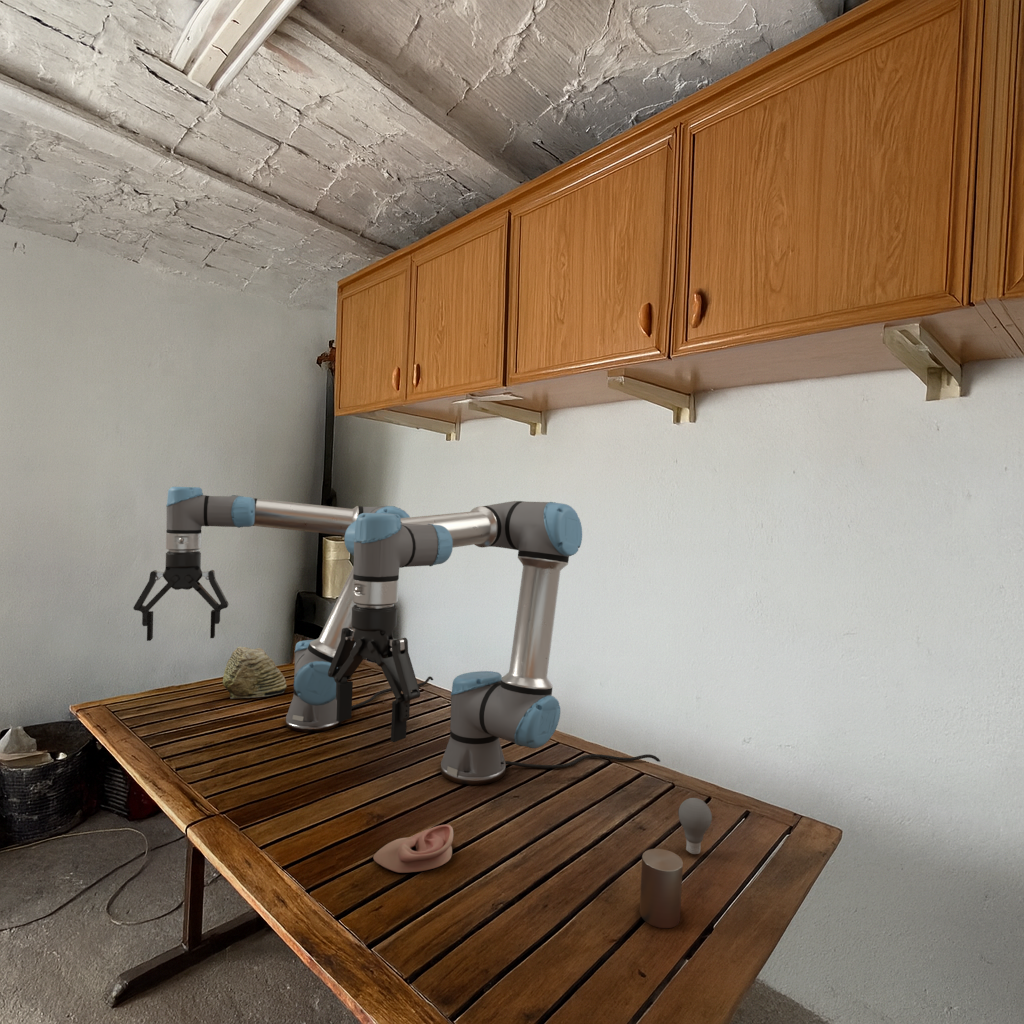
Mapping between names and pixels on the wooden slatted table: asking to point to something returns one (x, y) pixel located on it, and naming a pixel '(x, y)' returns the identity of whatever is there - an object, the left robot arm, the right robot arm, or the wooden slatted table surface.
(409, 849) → the anatomical model
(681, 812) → the light bulb
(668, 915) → the can
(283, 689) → the fossil
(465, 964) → the wooden slatted table surface
